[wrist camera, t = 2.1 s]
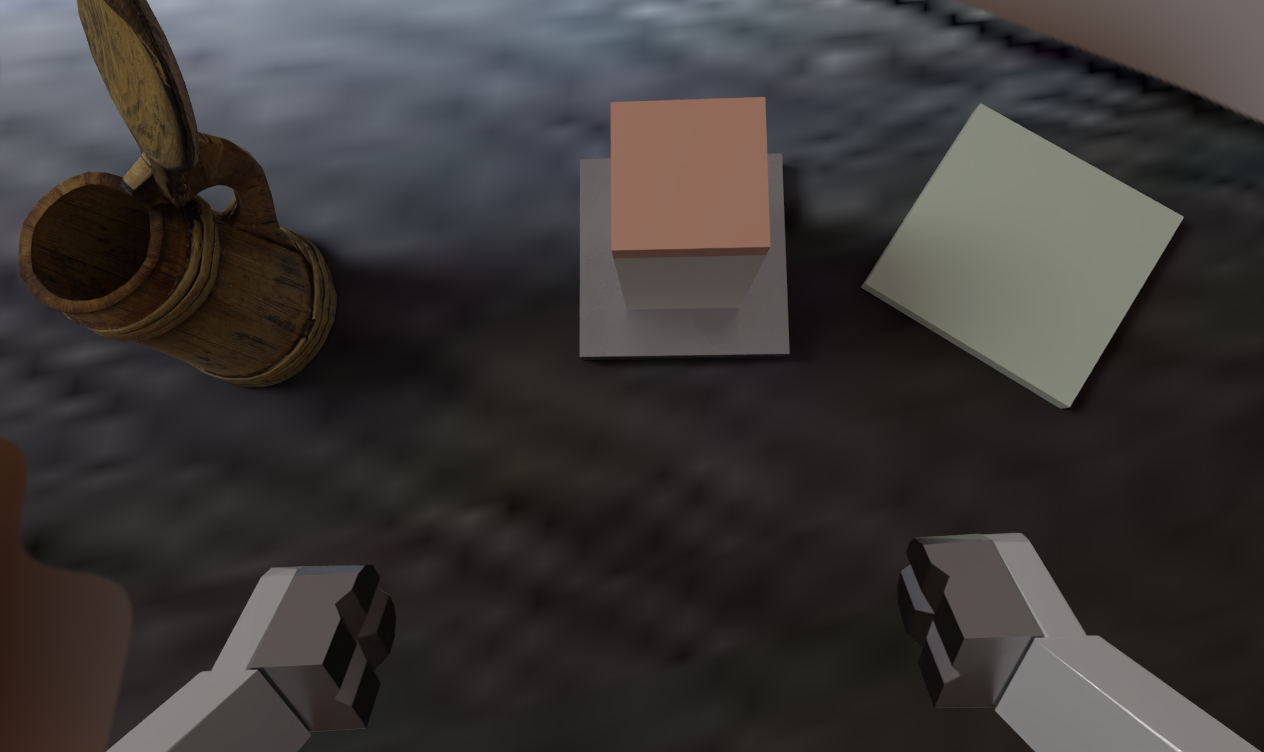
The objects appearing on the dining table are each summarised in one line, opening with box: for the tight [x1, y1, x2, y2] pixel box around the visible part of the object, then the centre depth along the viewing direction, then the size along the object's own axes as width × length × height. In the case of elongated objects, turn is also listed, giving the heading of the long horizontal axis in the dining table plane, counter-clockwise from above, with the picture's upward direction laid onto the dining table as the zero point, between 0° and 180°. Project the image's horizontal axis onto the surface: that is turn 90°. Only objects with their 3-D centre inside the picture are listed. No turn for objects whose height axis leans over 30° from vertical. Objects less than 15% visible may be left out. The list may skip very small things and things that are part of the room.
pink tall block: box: [611, 97, 770, 310], centre depth 30 cm, size 6×6×10 cm
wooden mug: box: [19, 0, 337, 387], centre depth 28 cm, size 9×14×18 cm, turn 132°
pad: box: [861, 104, 1184, 408], centre depth 35 cm, size 12×12×1 cm
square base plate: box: [580, 154, 790, 360], centre depth 33 cm, size 11×11×6 cm
